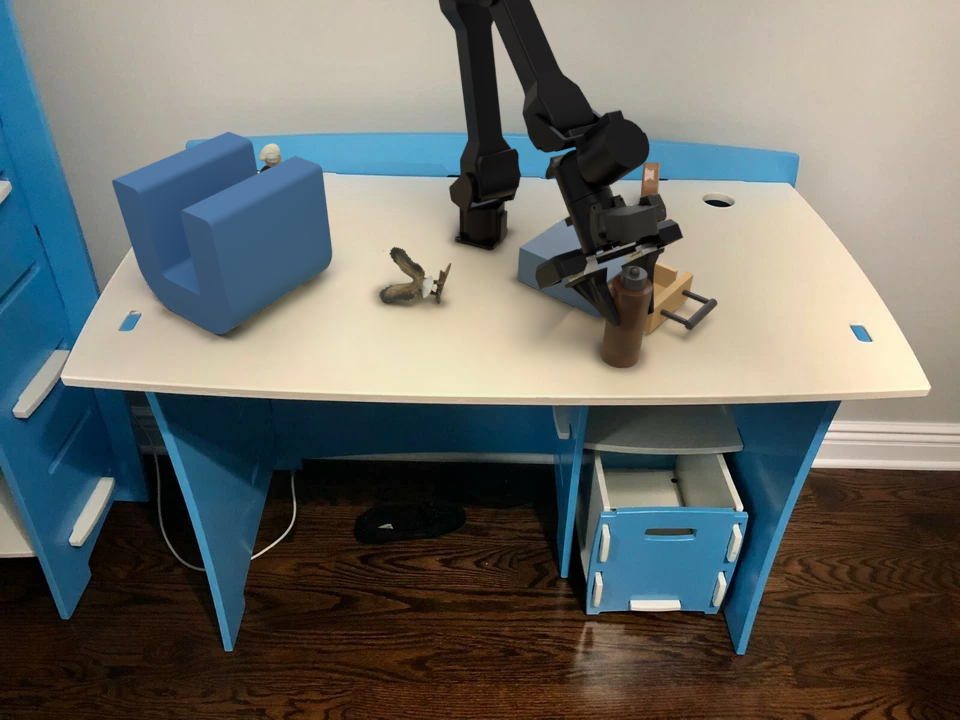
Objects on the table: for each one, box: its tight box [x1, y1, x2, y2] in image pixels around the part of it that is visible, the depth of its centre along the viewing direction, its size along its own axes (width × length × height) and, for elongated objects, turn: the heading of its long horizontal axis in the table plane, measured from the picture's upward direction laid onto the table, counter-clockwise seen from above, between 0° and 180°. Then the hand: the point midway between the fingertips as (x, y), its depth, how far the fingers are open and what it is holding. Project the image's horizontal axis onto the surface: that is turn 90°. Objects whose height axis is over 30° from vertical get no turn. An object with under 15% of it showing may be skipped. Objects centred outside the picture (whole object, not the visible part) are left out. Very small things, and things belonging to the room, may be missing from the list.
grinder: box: [600, 266, 653, 369], centre depth 92 cm, size 5×5×13 cm
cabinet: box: [517, 215, 627, 319], centre depth 108 cm, size 14×12×6 cm
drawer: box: [607, 260, 718, 334], centre depth 103 cm, size 18×11×4 cm, turn 50°
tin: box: [640, 161, 661, 197], centre depth 121 cm, size 15×3×8 cm, turn 168°
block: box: [111, 131, 333, 335], centre depth 100 cm, size 18×18×18 cm
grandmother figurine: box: [258, 143, 282, 173], centre depth 118 cm, size 8×4×13 cm, turn 58°
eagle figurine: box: [379, 246, 452, 304], centre depth 104 cm, size 8×7×9 cm
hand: (634, 320), depth 92 cm, fingers closed on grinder, 5 cm apart
